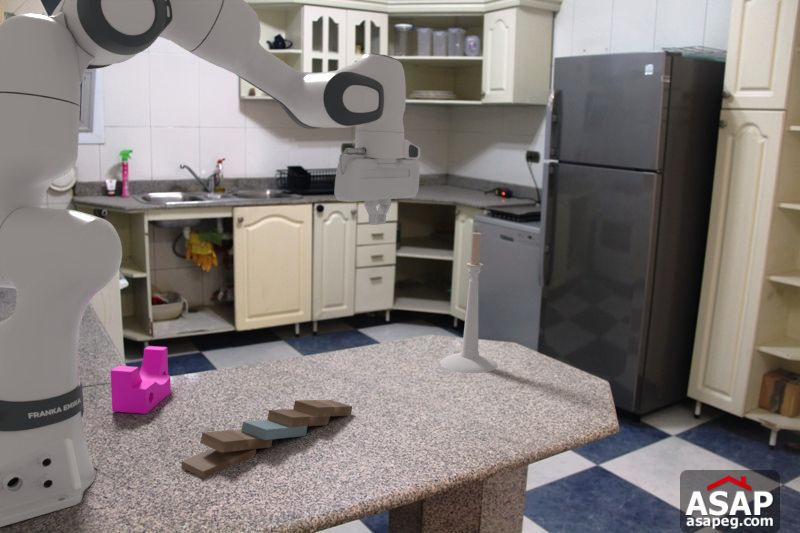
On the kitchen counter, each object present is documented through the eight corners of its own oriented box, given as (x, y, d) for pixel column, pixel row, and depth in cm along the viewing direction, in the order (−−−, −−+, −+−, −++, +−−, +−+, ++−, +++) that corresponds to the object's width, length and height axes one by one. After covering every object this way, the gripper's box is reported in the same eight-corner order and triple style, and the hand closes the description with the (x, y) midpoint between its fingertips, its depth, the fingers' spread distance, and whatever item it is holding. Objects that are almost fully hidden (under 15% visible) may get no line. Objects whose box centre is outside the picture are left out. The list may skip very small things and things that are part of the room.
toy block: (146, 413, 127) (145, 372, 125) (112, 411, 127) (110, 370, 126) (180, 385, 141) (179, 348, 140) (149, 382, 142) (148, 346, 141)
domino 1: (271, 447, 114) (221, 452, 106) (249, 438, 117) (200, 442, 109) (273, 437, 114) (223, 441, 106) (251, 428, 117) (202, 432, 109)
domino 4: (328, 425, 124) (289, 427, 116) (306, 417, 127) (267, 419, 118) (330, 415, 124) (291, 417, 116) (307, 408, 127) (269, 409, 119)
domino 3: (284, 418, 122) (243, 421, 114) (307, 426, 120) (266, 429, 111) (283, 428, 122) (241, 431, 114) (305, 435, 119) (264, 440, 111)
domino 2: (255, 458, 112) (203, 481, 104) (234, 449, 115) (181, 471, 107) (256, 448, 112) (203, 471, 104) (234, 439, 115) (181, 461, 107)
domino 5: (350, 415, 129) (315, 417, 120) (328, 408, 131) (293, 409, 123) (352, 406, 129) (317, 407, 120) (330, 399, 131) (294, 400, 123)
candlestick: (494, 380, 150) (503, 236, 145) (434, 372, 153) (440, 232, 148) (502, 362, 162) (510, 229, 157) (446, 355, 166) (452, 225, 160)
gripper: (354, 148, 121) (352, 230, 124) (426, 149, 137) (423, 222, 139) (327, 146, 125) (325, 226, 127) (400, 148, 141) (397, 218, 143)
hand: (377, 224), depth 134 cm, fingers closed
